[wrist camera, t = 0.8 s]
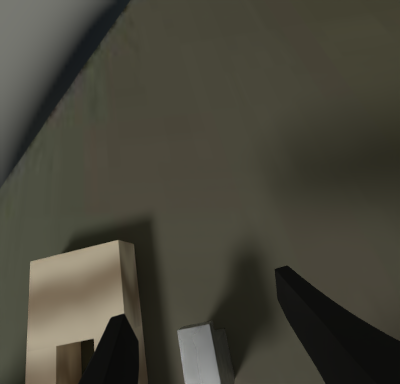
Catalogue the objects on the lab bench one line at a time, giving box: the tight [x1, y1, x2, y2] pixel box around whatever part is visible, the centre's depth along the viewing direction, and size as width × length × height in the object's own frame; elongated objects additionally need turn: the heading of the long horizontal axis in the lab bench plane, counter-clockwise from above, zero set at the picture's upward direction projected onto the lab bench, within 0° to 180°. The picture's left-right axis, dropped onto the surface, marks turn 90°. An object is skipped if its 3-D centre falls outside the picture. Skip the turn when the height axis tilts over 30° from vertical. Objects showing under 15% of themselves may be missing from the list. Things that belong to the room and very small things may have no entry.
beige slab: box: [25, 240, 148, 384], centre depth 23 cm, size 22×10×4 cm, turn 12°
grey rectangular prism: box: [177, 321, 235, 384], centre depth 20 cm, size 7×2×7 cm, turn 12°
